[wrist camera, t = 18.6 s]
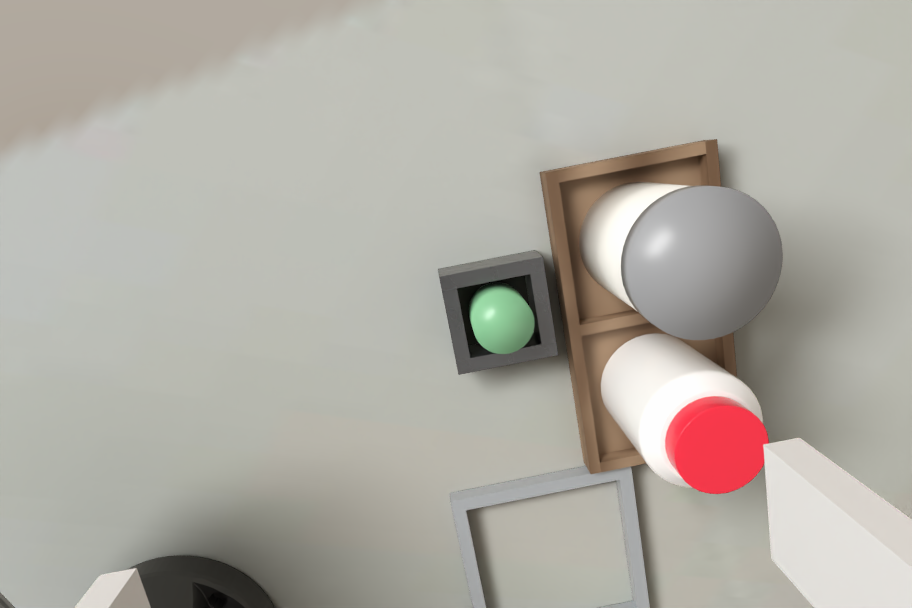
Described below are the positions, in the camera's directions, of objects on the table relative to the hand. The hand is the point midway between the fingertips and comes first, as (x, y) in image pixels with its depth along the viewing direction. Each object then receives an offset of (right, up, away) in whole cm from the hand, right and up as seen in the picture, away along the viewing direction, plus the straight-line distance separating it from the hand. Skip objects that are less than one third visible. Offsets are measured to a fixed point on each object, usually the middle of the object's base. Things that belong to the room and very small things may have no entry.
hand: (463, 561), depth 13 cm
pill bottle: (+14, 0, +33) cm, 36 cm away
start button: (+3, +5, +31) cm, 31 cm away
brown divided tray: (+13, +5, +32) cm, 35 cm away
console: (+3, +5, +31) cm, 32 cm away
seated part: (+12, +10, +30) cm, 34 cm away
